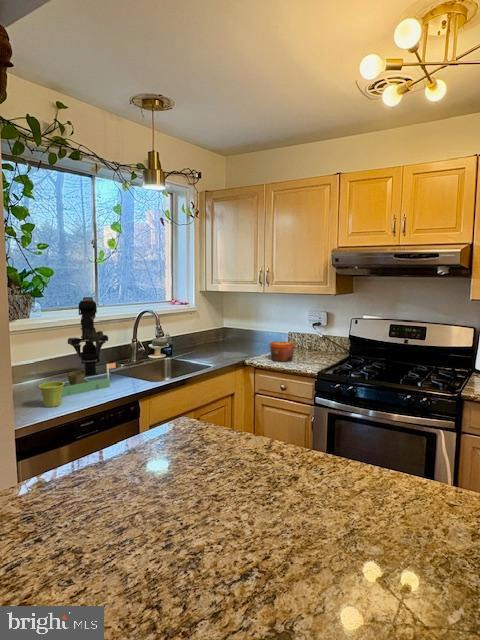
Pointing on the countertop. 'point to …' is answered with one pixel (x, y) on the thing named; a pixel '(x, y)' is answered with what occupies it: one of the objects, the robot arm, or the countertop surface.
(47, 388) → the plant pot
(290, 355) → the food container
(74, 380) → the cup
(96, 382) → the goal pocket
